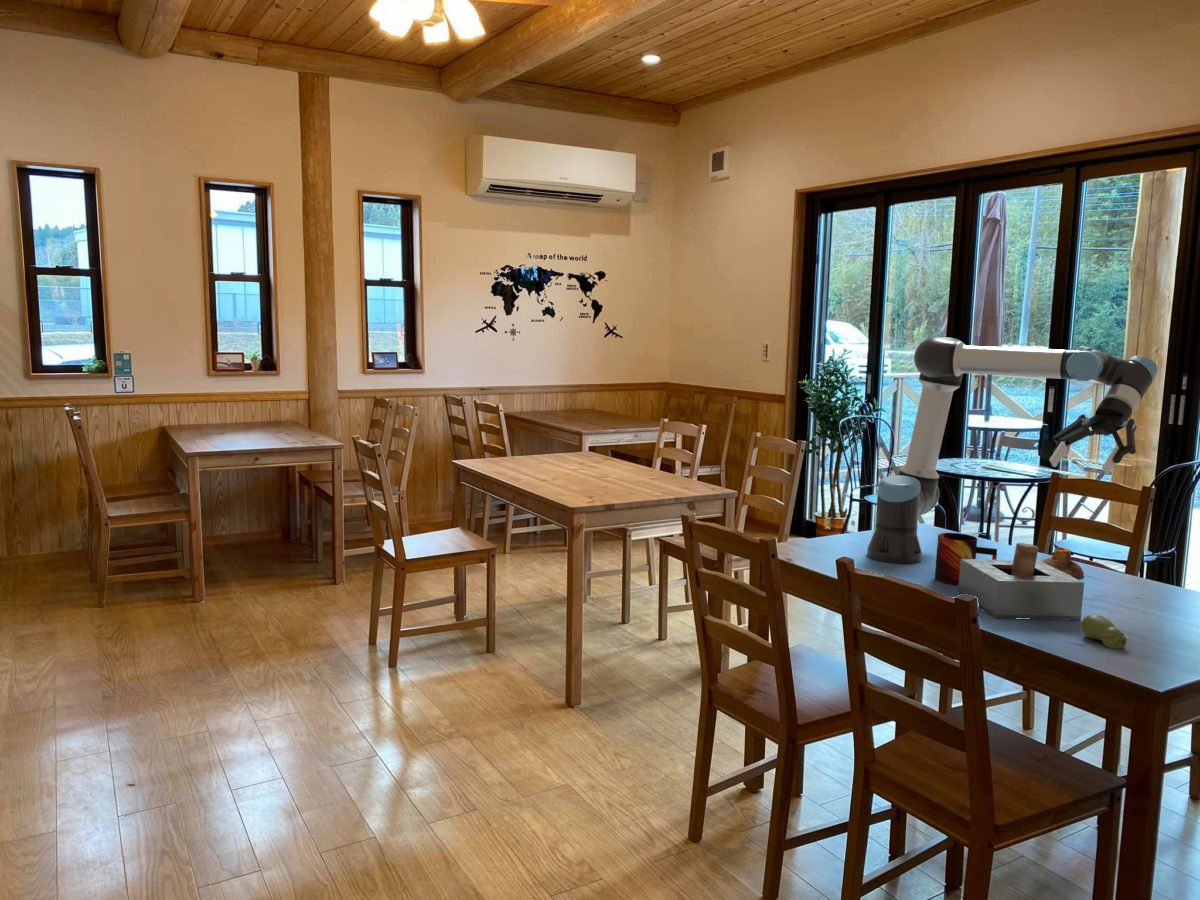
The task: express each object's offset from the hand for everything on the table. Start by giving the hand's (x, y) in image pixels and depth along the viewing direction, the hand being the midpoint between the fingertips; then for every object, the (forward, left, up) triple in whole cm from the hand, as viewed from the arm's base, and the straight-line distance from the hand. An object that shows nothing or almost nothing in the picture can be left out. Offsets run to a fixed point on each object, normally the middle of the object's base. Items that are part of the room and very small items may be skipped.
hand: (1078, 467), depth 223 cm
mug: (-11, -22, -33) cm, 41 cm away
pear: (+36, -12, -33) cm, 51 cm away
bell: (-21, +10, -33) cm, 40 cm away
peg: (+12, -19, -31) cm, 38 cm away
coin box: (+12, -19, -33) cm, 39 cm away
